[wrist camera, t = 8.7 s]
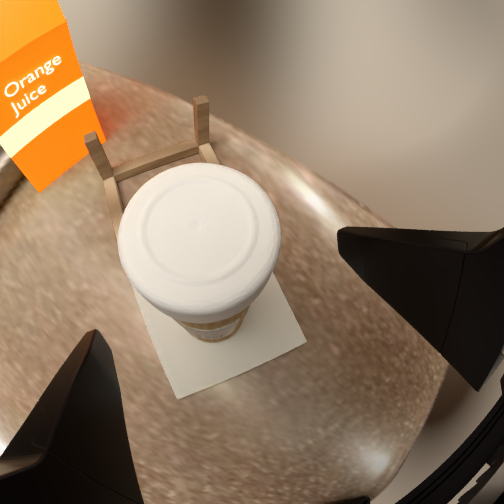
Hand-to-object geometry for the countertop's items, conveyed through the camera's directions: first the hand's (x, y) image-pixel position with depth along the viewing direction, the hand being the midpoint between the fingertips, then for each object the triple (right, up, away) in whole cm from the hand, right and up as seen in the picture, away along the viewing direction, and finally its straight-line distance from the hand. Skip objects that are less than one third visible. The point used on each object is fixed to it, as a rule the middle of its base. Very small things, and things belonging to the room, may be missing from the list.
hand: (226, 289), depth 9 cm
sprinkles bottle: (-2, -3, +11) cm, 11 cm away
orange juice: (-20, +12, +15) cm, 28 cm away
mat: (-2, -3, +11) cm, 12 cm away
